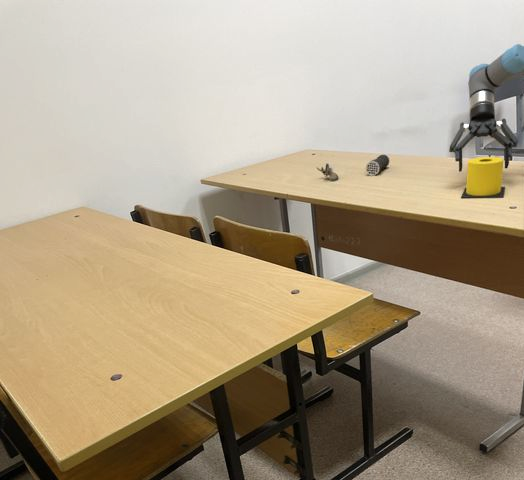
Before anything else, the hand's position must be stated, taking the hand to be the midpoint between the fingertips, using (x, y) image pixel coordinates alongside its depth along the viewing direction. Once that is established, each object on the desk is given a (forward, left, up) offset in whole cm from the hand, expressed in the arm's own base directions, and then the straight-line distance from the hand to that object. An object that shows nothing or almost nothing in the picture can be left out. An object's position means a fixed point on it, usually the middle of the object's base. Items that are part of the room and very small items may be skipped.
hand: (483, 167), depth 167 cm
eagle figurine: (+58, -21, -7) cm, 62 cm away
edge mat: (-1, +5, -7) cm, 8 cm away
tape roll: (-1, +5, -6) cm, 8 cm away
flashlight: (+41, -32, -7) cm, 52 cm away
